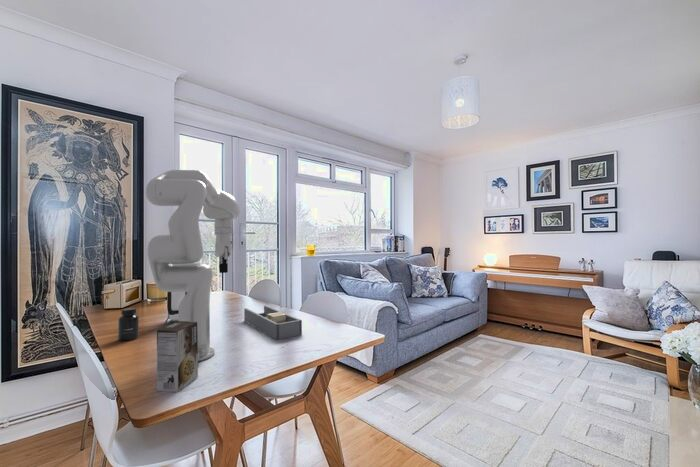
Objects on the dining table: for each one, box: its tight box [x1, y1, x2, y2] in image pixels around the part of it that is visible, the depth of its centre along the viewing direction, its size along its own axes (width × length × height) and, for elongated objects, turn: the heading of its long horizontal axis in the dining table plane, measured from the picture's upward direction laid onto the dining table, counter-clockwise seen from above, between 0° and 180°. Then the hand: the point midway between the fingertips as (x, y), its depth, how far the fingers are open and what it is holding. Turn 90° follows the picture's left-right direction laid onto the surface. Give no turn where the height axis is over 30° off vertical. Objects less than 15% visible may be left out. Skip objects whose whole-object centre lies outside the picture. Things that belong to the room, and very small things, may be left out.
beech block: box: [267, 311, 287, 324], centre depth 141 cm, size 6×6×4 cm
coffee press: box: [164, 292, 187, 325], centre depth 156 cm, size 17×16×30 cm
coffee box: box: [156, 321, 199, 393], centre depth 88 cm, size 9×6×16 cm
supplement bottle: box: [117, 307, 140, 342], centre depth 129 cm, size 7×7×12 cm
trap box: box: [243, 305, 303, 341], centre depth 144 cm, size 38×11×6 cm, turn 37°
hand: (223, 272), depth 143 cm, fingers closed
